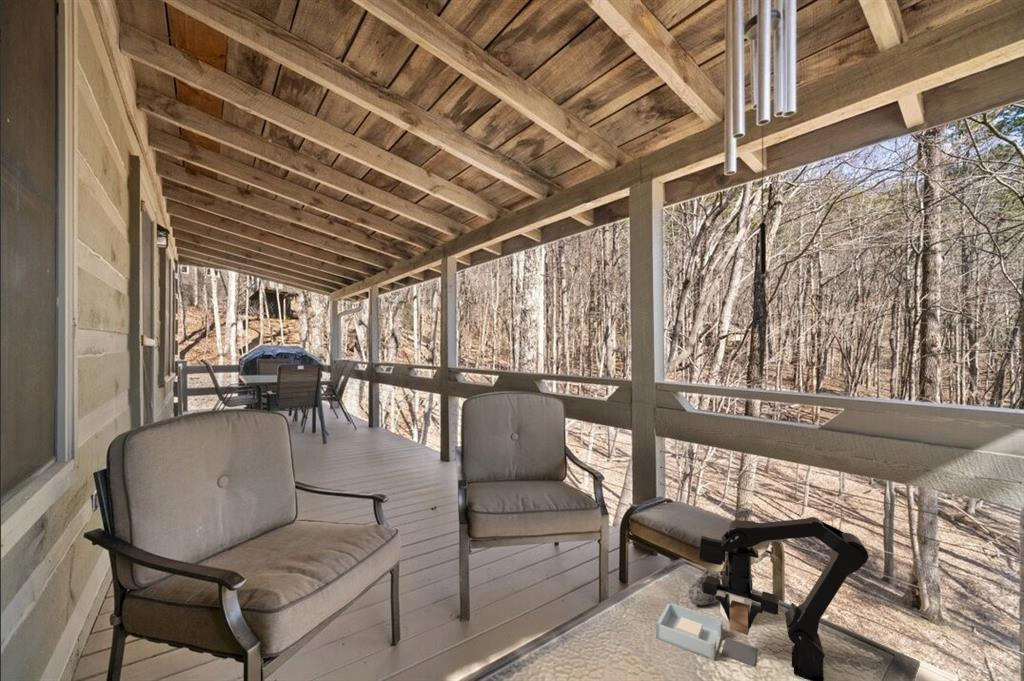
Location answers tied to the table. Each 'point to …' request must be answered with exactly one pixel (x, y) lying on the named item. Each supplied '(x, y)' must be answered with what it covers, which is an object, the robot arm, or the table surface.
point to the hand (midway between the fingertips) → (739, 624)
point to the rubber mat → (739, 651)
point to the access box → (690, 630)
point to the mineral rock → (696, 590)
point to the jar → (732, 598)
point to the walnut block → (739, 617)
